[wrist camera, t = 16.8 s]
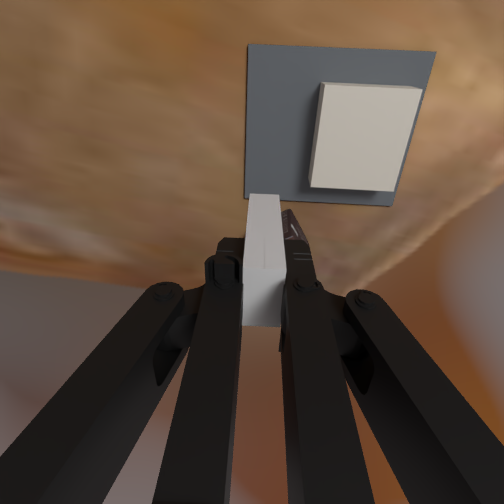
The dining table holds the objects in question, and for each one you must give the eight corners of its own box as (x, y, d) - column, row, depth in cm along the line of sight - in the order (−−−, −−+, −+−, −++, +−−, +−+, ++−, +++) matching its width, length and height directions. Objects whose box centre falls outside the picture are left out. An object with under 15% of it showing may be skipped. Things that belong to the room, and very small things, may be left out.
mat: (244, 196, 40) (244, 198, 40) (248, 44, 32) (248, 44, 32) (391, 204, 40) (392, 205, 40) (434, 51, 31) (436, 51, 31)
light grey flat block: (310, 187, 36) (393, 191, 35) (324, 84, 30) (422, 89, 30) (307, 177, 38) (385, 181, 38) (320, 81, 33) (410, 86, 33)
